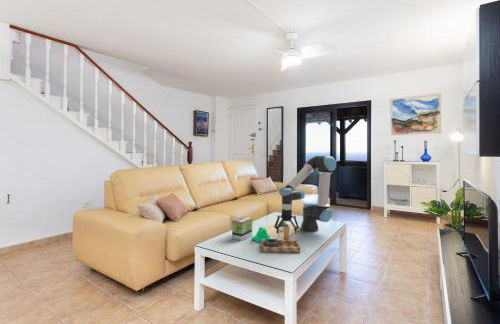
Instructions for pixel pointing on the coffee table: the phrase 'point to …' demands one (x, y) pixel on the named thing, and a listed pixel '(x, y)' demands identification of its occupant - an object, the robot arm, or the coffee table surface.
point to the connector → (286, 232)
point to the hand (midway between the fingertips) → (286, 237)
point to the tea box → (241, 228)
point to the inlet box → (280, 246)
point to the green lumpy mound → (261, 235)
